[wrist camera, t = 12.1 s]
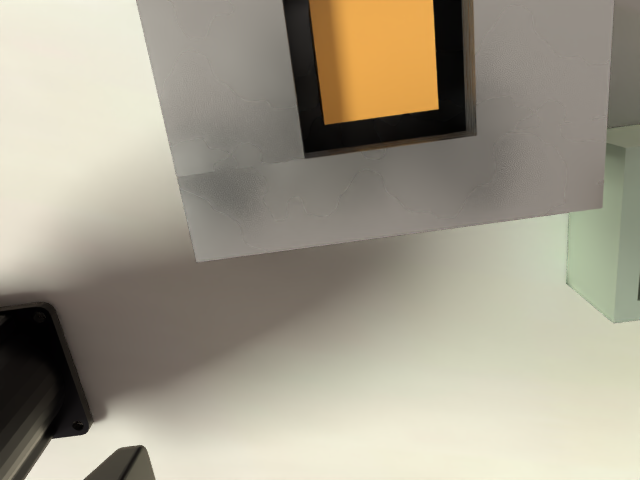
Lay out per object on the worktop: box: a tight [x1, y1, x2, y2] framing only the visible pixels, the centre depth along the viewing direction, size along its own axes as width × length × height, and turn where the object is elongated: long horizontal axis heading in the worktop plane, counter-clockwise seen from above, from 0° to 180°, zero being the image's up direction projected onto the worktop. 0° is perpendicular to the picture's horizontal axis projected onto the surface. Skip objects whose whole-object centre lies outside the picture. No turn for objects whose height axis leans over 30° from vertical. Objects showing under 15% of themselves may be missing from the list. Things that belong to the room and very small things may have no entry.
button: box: [308, 0, 439, 125], centre depth 16 cm, size 3×3×4 cm
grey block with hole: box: [136, 0, 614, 262], centre depth 16 cm, size 10×12×6 cm
